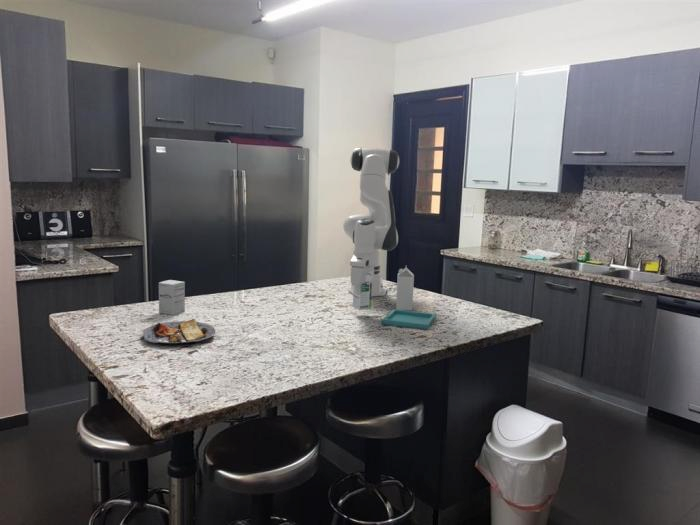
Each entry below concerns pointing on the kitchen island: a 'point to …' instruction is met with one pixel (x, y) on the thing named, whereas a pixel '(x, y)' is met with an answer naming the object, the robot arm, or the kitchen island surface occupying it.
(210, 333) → the food plate
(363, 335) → the kitchen island surface
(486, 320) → the kitchen island surface
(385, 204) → the robot arm
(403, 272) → the milk carton
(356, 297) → the syrup box
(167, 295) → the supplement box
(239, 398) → the kitchen island surface
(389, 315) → the tray
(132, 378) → the kitchen island surface
